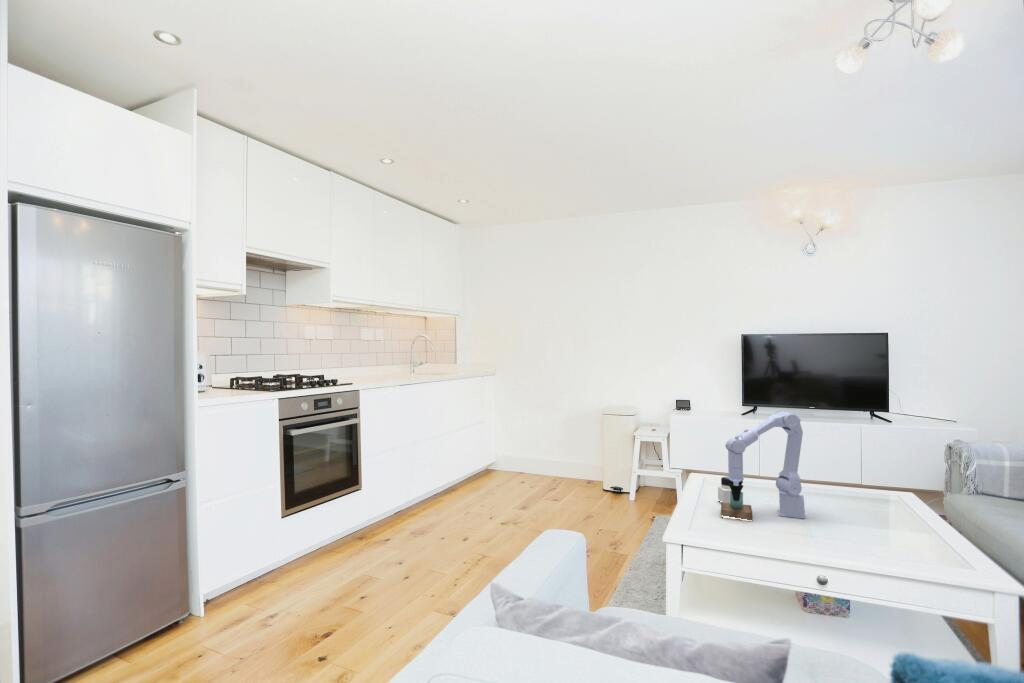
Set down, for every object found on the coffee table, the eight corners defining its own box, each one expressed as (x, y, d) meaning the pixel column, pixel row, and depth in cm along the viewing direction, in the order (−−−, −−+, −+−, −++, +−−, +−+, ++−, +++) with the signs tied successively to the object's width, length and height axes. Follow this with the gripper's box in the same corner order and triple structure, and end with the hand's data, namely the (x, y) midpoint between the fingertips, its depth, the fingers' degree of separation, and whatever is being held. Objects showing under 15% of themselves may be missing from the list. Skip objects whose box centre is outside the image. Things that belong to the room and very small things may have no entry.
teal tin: (742, 506, 221) (743, 491, 222) (742, 509, 217) (743, 494, 217) (730, 505, 223) (730, 490, 224) (730, 508, 219) (730, 492, 219)
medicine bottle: (739, 505, 235) (739, 479, 236) (723, 505, 235) (723, 479, 236) (733, 501, 242) (732, 475, 243) (717, 501, 242) (717, 475, 243)
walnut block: (751, 514, 223) (751, 505, 223) (752, 522, 212) (752, 512, 212) (721, 511, 228) (721, 502, 228) (721, 519, 217) (721, 509, 217)
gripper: (725, 463, 229) (726, 493, 229) (725, 469, 216) (726, 502, 215) (742, 464, 226) (743, 495, 226) (743, 471, 213) (744, 504, 212)
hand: (736, 499), depth 220 cm, fingers open, 5 cm apart
